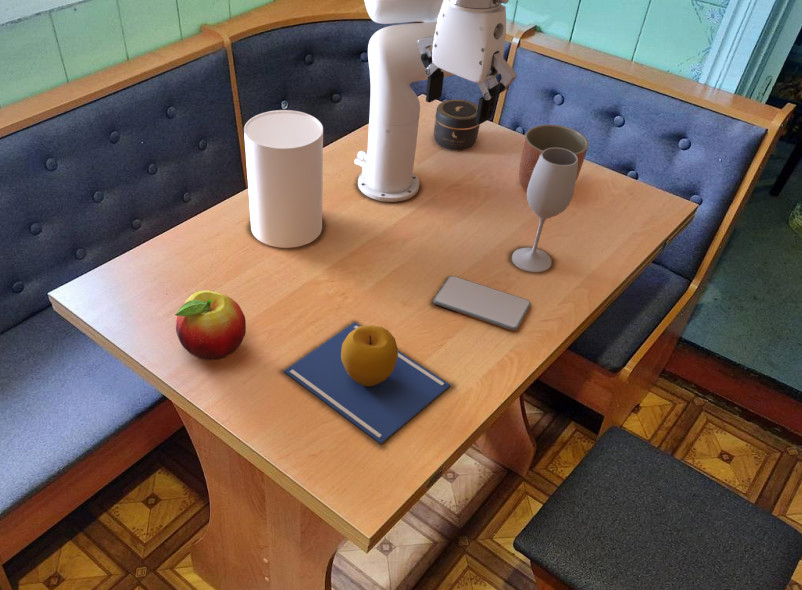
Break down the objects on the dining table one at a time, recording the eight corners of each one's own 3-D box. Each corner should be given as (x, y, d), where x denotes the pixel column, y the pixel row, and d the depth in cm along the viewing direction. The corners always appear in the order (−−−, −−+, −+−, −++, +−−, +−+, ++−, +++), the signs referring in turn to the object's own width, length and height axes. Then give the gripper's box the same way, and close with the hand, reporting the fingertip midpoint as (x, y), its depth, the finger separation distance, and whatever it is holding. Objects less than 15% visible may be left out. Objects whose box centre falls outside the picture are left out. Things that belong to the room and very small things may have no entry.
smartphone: (450, 274, 129) (532, 300, 124) (449, 278, 129) (531, 304, 124) (431, 300, 123) (516, 329, 119) (431, 304, 124) (515, 333, 119)
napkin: (283, 372, 112) (283, 370, 112) (354, 323, 120) (354, 321, 120) (380, 444, 103) (381, 442, 102) (450, 386, 111) (450, 384, 110)
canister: (280, 256, 132) (276, 157, 118) (237, 223, 139) (228, 125, 125) (336, 229, 139) (339, 131, 124) (292, 199, 145) (290, 103, 131)
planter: (517, 168, 156) (528, 120, 148) (576, 177, 154) (590, 129, 146) (511, 198, 148) (522, 149, 140) (572, 209, 146) (587, 159, 138)
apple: (367, 349, 115) (370, 306, 109) (407, 377, 111) (413, 334, 105) (328, 375, 111) (329, 333, 105) (369, 405, 107) (372, 363, 101)
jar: (430, 149, 161) (434, 117, 155) (434, 128, 168) (438, 96, 162) (475, 154, 160) (481, 121, 154) (477, 133, 167) (483, 100, 161)
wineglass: (552, 275, 131) (584, 171, 115) (509, 269, 131) (535, 165, 116) (552, 251, 136) (582, 148, 121) (511, 245, 137) (536, 142, 121)
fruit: (259, 354, 114) (256, 306, 107) (196, 380, 110) (188, 331, 103) (229, 315, 121) (223, 267, 113) (168, 338, 116) (158, 290, 109)
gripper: (543, 2, 99) (517, 121, 111) (443, -30, 107) (429, 84, 119) (511, 16, 95) (488, 138, 107) (410, -18, 103) (399, 99, 115)
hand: (457, 110), depth 113 cm, fingers open, 9 cm apart
